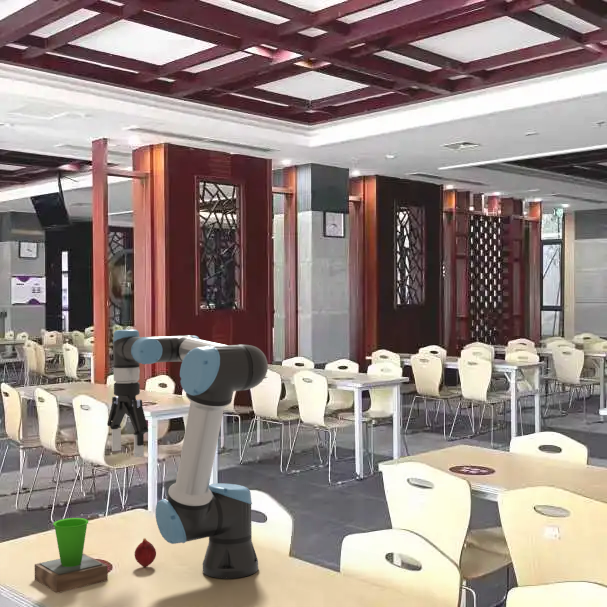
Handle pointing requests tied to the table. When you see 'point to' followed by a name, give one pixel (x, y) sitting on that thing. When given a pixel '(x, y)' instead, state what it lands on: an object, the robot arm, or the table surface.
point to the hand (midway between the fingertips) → (127, 453)
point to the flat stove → (70, 574)
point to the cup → (71, 540)
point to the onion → (145, 553)
